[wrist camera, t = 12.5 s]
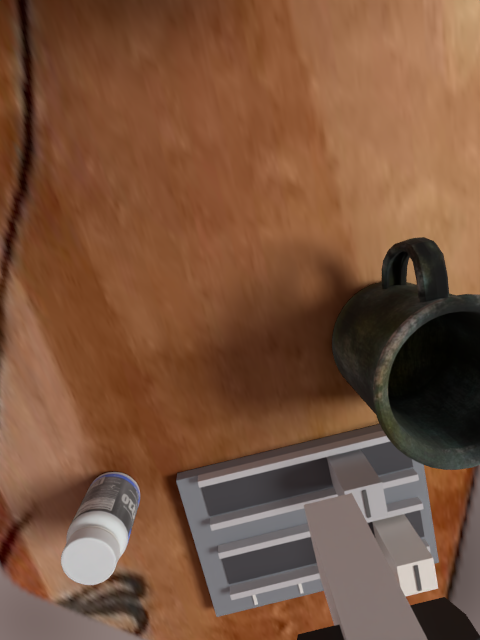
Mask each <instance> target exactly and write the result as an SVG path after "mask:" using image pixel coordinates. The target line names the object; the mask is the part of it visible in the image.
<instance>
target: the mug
mask: <svg viewBox="0 0 480 640" xmlns="http://www.w3.org/2000/svg"><path fill="white" fill-rule="evenodd" d="M409 258H411V259H412V261H413V265H414V270H415V275H416V280H417V285H415V284H411V283H407V282H406V276H407V265H408V260H409ZM332 349H333V355H334V360H335V363H336V365H337V367H338V369H339V371H340V373H341V374H342V376H343V377H344V378H345V379H346V381H347V382H348V383H349V384H350V385H351V386H352V387H353V389H354V390H355V391H356V392H357V393H358V394H359V395H360V397H361V398H362V399H363V400H364V401H365V402H366V404H367V405H368V406H369V407H370V408H371V409H372V410H373V412H374V413H375V414H376V415H377V418H378V421H379V423H380V425H381V428H382V430H383V431H384V433H385V434H386V436H387V438H388V439H389V440H390V442H391V443H392V444H393V445H394V446H395V447H396V448H397V449H398V450H399V451H400V452H402V453H403V454H404V455H406V456H407V457H409V458H411V459H412V460H414V461H416V462H418V463H420V464H423V465H426V466H429V467H432V468H438V469H446V470H458V469H465V468H471V467H475V466H478V465H480V295H472V294H465V295H457V296H456V295H452V294H449V287H448V277H447V271H446V266H445V261H444V256H443V253H442V252H441V250H440V249H439V247H438V246H437V245H436V243H435V242H434V241H432V240H429V239H427V238H424V237H423V238H412V239H409V240H406V241H403V242H400V243H397V244H394V245H393V246H392V247H391V248H390V249H389V250H388V252H387V254H386V256H385V258H384V260H383V265H382V282H379V283H376V284H372V285H370V286H368V287H366V288H364V289H363V290H361V291H360V292H358V293H357V294H355V295H354V296H353V297H352V298H351V299H350V300H349V301H348V302H347V304H346V305H345V306H344V307H343V309H342V311H341V312H340V314H339V316H338V318H337V321H336V323H335V326H334V331H333V337H332Z"/></svg>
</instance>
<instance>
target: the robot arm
mask: <svg viewBox="0 0 480 640" xmlns="http://www.w3.org/2000/svg"><path fill="white" fill-rule="evenodd" d="M304 509H305V513H306V518H307V522H308V526H309V531H310V535H311V539H312V544H313V548H314V552H315V557H316V561H317V566H318V570H319V574H320V579H321V582H322V585H323V589H324V592H325V595H326V599H327V602H328V605H329V609H330V612H331V615H332V619H333V622H334V625H335V626H331V627H327V628H323V629H319V630H315V631H311V632H307V633H303V634H298V638H297V640H480V636H479V634H478V632H477V631H476V630H475V628H474V626H473V625H472V623H471V622H470V620H469V619H468V617H467V616H466V614H465V613H463V612H462V611H461V610H460V609H458V608H457V607H456V606H455V605H454V604H452V603H451V602H450V601H449V600H447V599H446V598H445V597H443V598H439V599H435V600H431V601H427V602H423V603H418V604H414V605H409V603H408V601H407V599H406V597H405V595H404V593H403V591H402V589H401V587H400V585H399V583H398V581H397V579H396V578H395V576H394V574H393V572H392V570H391V568H390V566H389V564H388V562H387V560H386V558H385V556H384V554H383V552H382V550H381V549H380V547H379V545H378V543H377V541H376V539H375V537H374V535H373V533H372V531H371V529H370V527H369V525H368V523H367V522H366V520H365V518H364V516H363V514H362V512H361V510H360V508H359V506H358V504H357V502H356V500H355V498H354V496H353V494H352V493H350V494H346V495H342V496H338V497H333V498H329V499H325V500H321V501H317V502H313V503H309V504H305V505H304Z"/></svg>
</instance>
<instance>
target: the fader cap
mask: <svg viewBox="0 0 480 640" xmlns="http://www.w3.org/2000/svg"><path fill="white" fill-rule="evenodd" d="M372 523H373V528H374V533H375V539H376V541H377V543H378V545H379V547H380V549H381V550H382V552H383V554H384V556H385V558H386V560H387V562H388V564H389V566H390V568H391V570H392V572H393V574H394V576H395V578H396V579H397V581H398V583H399V585H400V587H401V589H402V591H403V593H404V595H405V596H409V595H413V594H417V593H421V592H426V591H430V590H434V589H438V585H437V578H436V572H435V566H434V560H433V557H432V555H431V554H430V552H429V551H428V549H427V548H426V546H425V545H424V543H423V542H422V540H421V539H420V537H419V536H418V534H417V533H416V531H415V530H414V528H413V527H412V525H411V524H410V522H409V521H408V519H407V518H406V516H405V515H404V514H402V515H398V516H394V517H389V518H385V519H381V520H377V521H373V522H372Z"/></svg>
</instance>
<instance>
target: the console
mask: <svg viewBox="0 0 480 640" xmlns="http://www.w3.org/2000/svg"><path fill="white" fill-rule="evenodd" d="M176 482H177V485H178V489H179V492H180V495H181V499H182V502H183V505H184V509H185V512H186V515H187V519H188V522H189V525H190V529H191V532H192V536H193V539H194V542H195V546H196V549H197V552H198V556H199V559H200V562H201V566H202V569H203V572H204V576H205V579H206V582H207V586H208V589H209V593H210V596H211V599H212V603H213V606H214V609H215V613H216V616H217V617H218V616H222V615H226V614H231V613H235V612H239V611H243V610H247V609H251V608H255V607H259V606H263V605H267V604H271V603H275V602H279V601H284V600H288V599H292V598H296V597H300V596H304V595H308V594H312V593H316V592H320V591H324V589H323V585H322V582H321V579H320V574H319V570H318V566H317V561H316V557H315V552H314V548H313V544H312V539H311V535H310V531H309V526H308V522H307V518H306V513H305V509H304V505H305V504H309V503H313V502H317V501H321V500H325V499H329V498H333V497H338V496H342V495H346V494H350V493H352V494H353V496H354V498H355V500H356V502H357V504H358V506H359V508H360V510H361V512H362V514H363V516H364V518H365V520H366V522H367V523H368V525H369V527H370V529H371V531H372V533H373V535H374V537H375V533H374V528H373V523H372V522H373V521H377V520H381V519H385V518H389V517H394V516H398V515H402V514H404V515H405V516H406V518H407V519H408V521H409V522H410V524H411V525H412V527H413V528H414V530H415V531H416V533H417V534H418V536H419V537H420V539H421V540H422V542H423V543H424V545H425V546H426V548H427V549H428V551H429V552H430V554H431V555H432V557H433V560H434V563H438V562H439V560H438V554H437V547H436V541H435V535H434V528H433V522H432V516H431V509H430V503H429V496H428V490H427V484H426V477H425V471H424V465H423V464H420V463H418V462H416V461H414V460H412V459H411V458H409V457H407V456H406V455H404V454H403V453H402V452H400V451H399V450H398V449H397V448H396V447H395V446H394V445H393V444H392V443H391V442H390V440H389V439H388V438H387V436H386V434H385V433H384V431H383V430H382V428H381V425H380V424H378V425H374V426H370V427H365V428H361V429H357V430H353V431H349V432H345V433H341V434H337V435H333V436H328V437H324V438H320V439H316V440H312V441H308V442H304V443H300V444H296V445H291V446H287V447H283V448H279V449H275V450H271V451H267V452H263V453H259V454H254V455H250V456H246V457H242V458H238V459H234V460H230V461H226V462H222V463H217V464H213V465H209V466H205V467H201V468H197V469H193V470H189V471H185V472H180V473H177V479H176Z"/></svg>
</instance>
